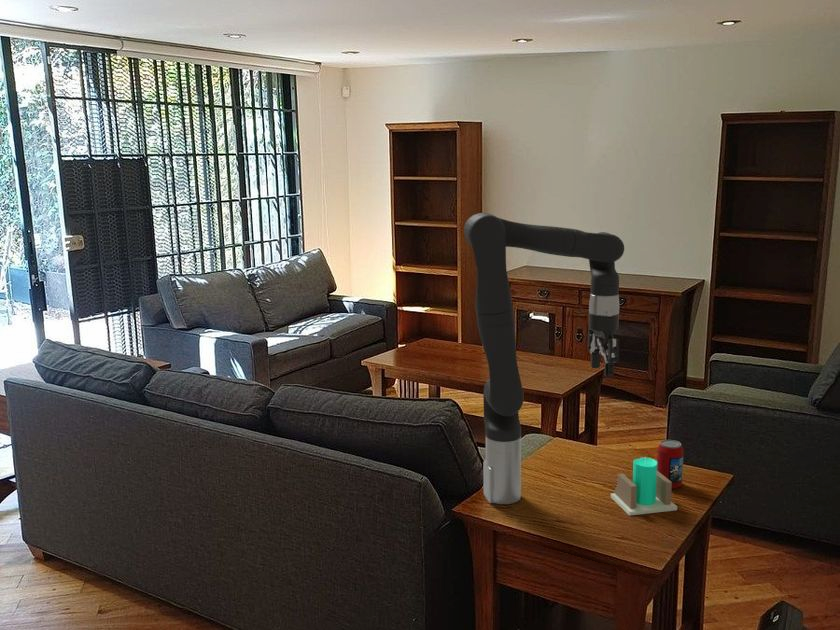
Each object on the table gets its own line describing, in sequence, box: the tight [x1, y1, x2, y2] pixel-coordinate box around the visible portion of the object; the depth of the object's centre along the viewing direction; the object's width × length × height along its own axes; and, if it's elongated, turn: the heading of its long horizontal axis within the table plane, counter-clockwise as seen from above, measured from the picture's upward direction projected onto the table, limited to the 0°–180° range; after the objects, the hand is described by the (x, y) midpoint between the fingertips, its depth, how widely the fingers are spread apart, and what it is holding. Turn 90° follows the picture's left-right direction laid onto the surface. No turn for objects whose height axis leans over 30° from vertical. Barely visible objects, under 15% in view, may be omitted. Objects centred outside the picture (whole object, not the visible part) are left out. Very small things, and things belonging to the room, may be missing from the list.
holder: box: [610, 471, 678, 516], centre depth 205 cm, size 13×11×7 cm
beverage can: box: [656, 439, 685, 490], centre depth 216 cm, size 7×7×12 cm
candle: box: [632, 455, 657, 505], centre depth 205 cm, size 6×6×12 cm
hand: (601, 372), depth 207 cm, fingers open, 8 cm apart
